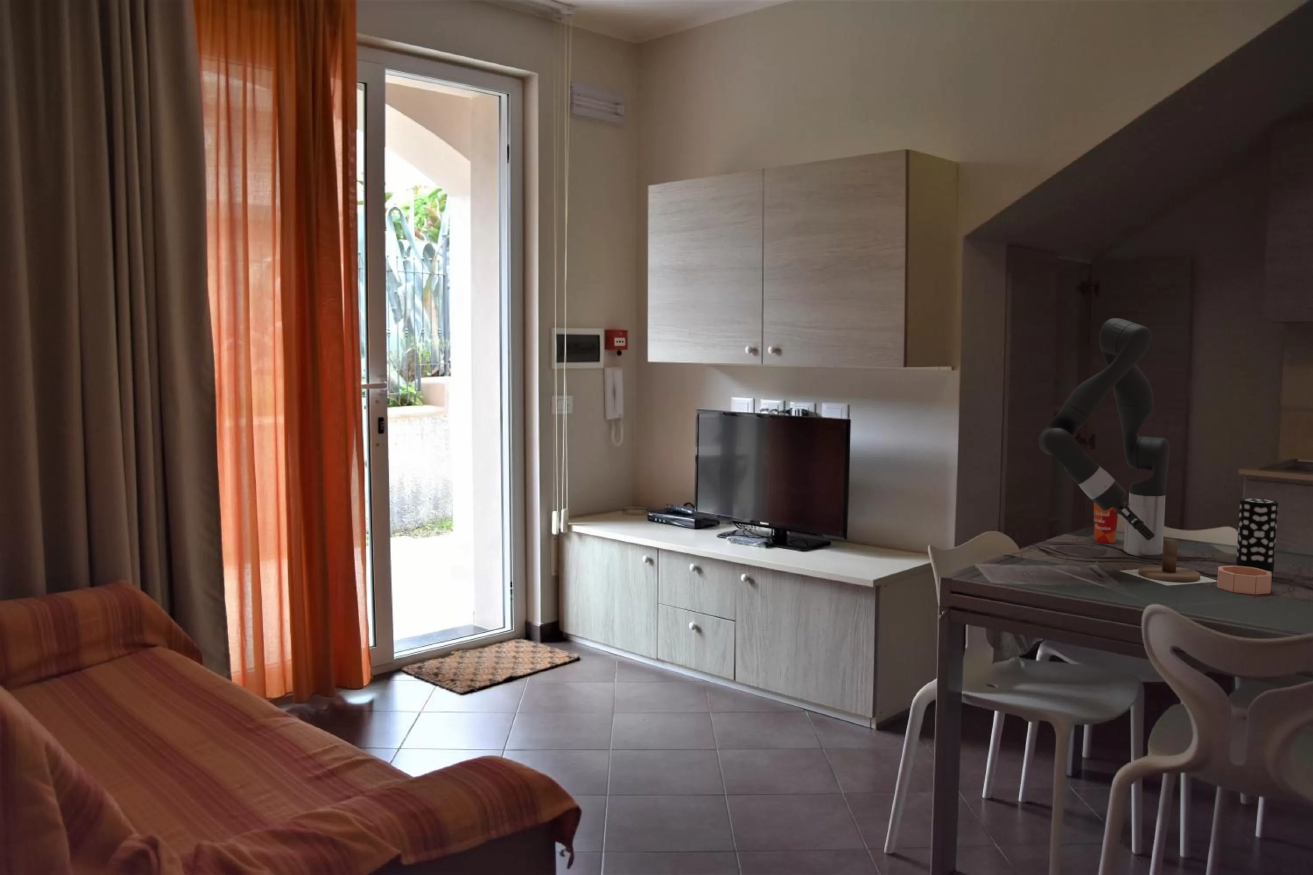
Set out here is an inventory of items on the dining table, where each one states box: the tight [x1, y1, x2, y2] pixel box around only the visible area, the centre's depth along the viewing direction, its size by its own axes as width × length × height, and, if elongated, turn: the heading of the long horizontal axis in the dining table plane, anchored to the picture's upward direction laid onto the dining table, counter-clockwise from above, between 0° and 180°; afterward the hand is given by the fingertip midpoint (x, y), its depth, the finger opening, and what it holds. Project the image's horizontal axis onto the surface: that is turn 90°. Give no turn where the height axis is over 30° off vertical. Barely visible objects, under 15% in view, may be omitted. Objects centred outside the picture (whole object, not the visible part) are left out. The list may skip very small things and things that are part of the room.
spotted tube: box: [1235, 497, 1279, 581], centre depth 254 cm, size 8×8×20 cm
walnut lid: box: [1137, 538, 1201, 583], centre depth 253 cm, size 14×14×9 cm
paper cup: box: [1093, 502, 1119, 544], centre depth 300 cm, size 8×8×14 cm
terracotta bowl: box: [1216, 565, 1273, 599], centre depth 241 cm, size 11×11×5 cm
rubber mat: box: [1120, 568, 1218, 587], centre depth 254 cm, size 16×16×1 cm
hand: (1148, 534), depth 254 cm, fingers open, 8 cm apart
